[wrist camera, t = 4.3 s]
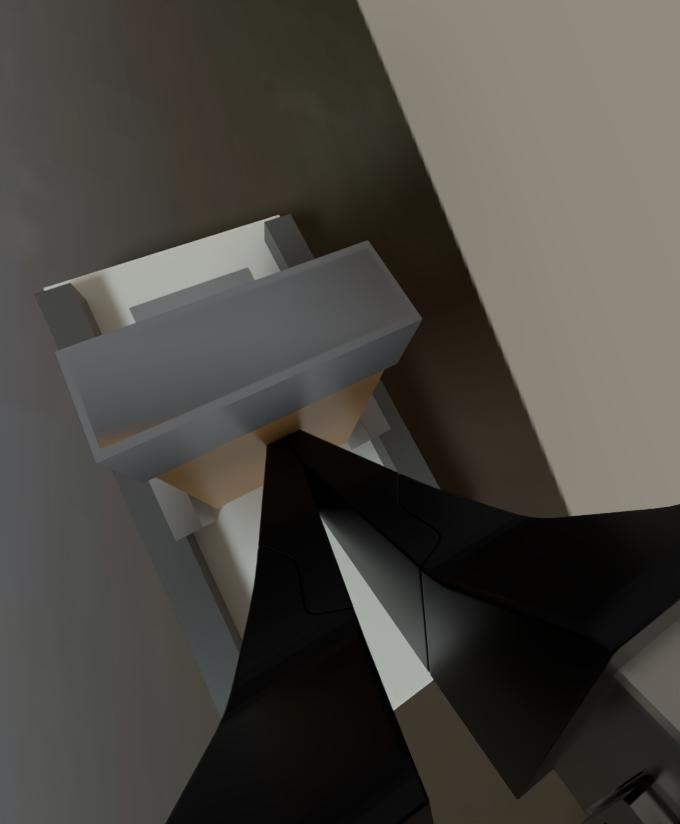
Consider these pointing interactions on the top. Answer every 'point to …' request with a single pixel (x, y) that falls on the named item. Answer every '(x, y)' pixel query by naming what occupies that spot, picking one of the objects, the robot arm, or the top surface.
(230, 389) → the lever
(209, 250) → the tray
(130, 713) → the top surface
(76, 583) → the top surface
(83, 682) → the top surface
